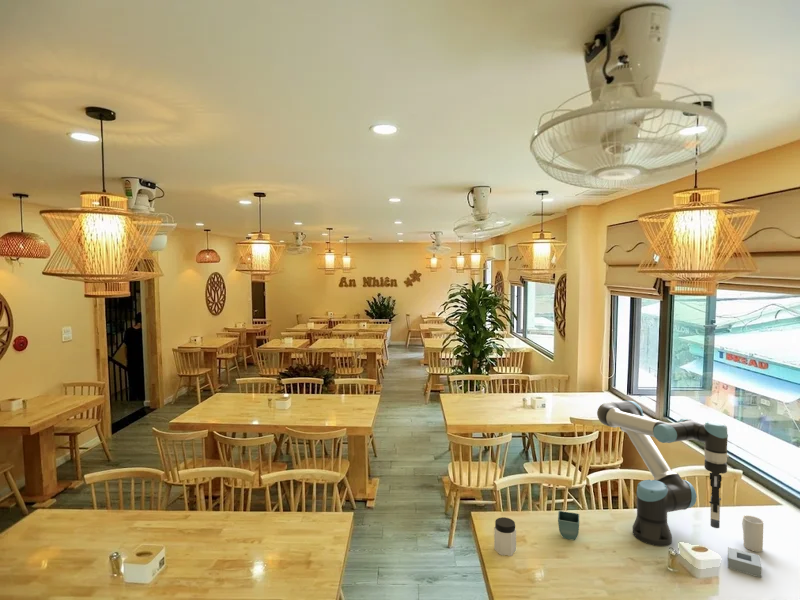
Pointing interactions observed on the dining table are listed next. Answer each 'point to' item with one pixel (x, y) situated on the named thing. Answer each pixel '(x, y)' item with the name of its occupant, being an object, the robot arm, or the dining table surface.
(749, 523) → the beige oval cylinder
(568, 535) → the flower pot
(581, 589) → the dining table surface
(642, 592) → the dining table surface
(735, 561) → the socket block
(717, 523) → the peg
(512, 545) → the jar
